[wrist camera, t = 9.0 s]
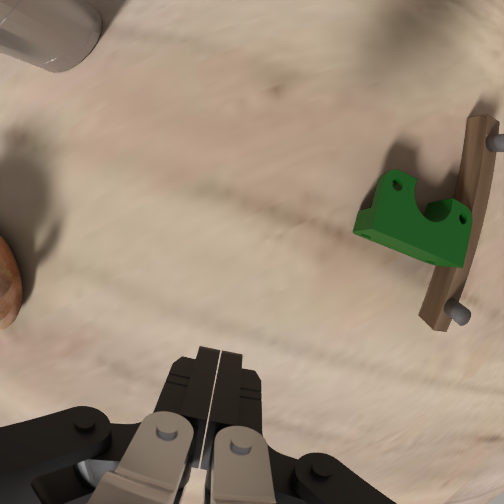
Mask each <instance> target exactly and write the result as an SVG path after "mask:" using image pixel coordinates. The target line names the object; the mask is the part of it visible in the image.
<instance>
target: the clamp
mask: <svg viewBox="0 0 504 504" xmlns="http://www.w3.org/2000/svg"><path fill="white" fill-rule="evenodd" d="M417 180H418V179H416V178H414V177H412V176H410V175H408V174H406V173H404V172H402V171H400V170H391V171H389V172H387V173H385V174H383V175H381V176H380V178H379V180H378V183H377V187H376V191H375V195H374V199H373V203H372V206H371V208H368V209H364V210H361V211H358V215H357V218H356V222H355V225H354V229H353V233H354V234H356V235H358V236H360V237H363V238H366V239H368V240H371V241H373V242H376V243H378V244H381V245H383V246H386V247H389V248H391V249H394V250H396V251H399V252H401V253H403V254H406V255H408V256H411V257H413V258H416V259H418V260H421V261H423V262H425V263H428V264H432V265H436V266H444V267H455V268H463V266H464V262H465V257H466V253H467V248H468V244H469V239H470V234H471V229H472V223H473V218H472V213H471V211H470V209H469V208H468V207H467V206H465V205H464V204H462V203H460V202H458V201H457V200H455V199H453V198H451V199H446V200H441V201H437V202H432V203H428V207H427V213H426V215H425V217H424V216H423V215H422V214H421V212H420V211H419V209H418V207H417V205H416V201H415V195H414V191H415V185H416V182H417ZM392 183H394V184H393V185H392Z"/></svg>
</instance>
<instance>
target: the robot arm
mask: <svg viewBox="0 0 504 504" xmlns="http://www.w3.org/2000/svg"><path fill="white" fill-rule="evenodd" d="M101 29H102V20H101V16H100V14H99V12H98V11H97V10H96V9H95V8H94V7H93V6H91V5H90V4H89V3H88V2H87V1H86V0H0V52H1V53H3V54H6V55H9V56H12V57H14V58H17V59H20V60H22V61H25V62H28V63H30V64H32V65H35V66H37V67H40V68H43V69H45V70H48V71H51V72H63V71H66V70H68V69H70V68H72V67H74V66H76V65H77V64H78V63H80V62H81V61H82V60H83V59H84V58H85V57H86V56H87V55H88V54H89V53H90V52H91V50H92V49H93V47H94V46H95V44H96V43H97V40H98V38H99V36H100V32H101ZM219 354H220V350H217V349H212V348H207V347H202V346H200V347H199V350H198V354H197V357H196V359H192V358H187V357H183V356H182V357H181V358H179V359H178V360H177V361H175V362H174V363H173V364H172V367H171V369H170V372H169V375H168V377H167V379H166V383H165V384H164V387H163V389H162V392H161V394H160V397H159V399H158V402H157V404H156V407H155V410H154V412H153V413H152V414H149V415H148V416H146V417H145V418H144V419H143V421H142V422H140V423H136V424H114V423H110V421H109V419H108V418H107V416H106V415H105V414H104V413H103V412H101V411H99V410H98V409H95V408H92V407H88V406H77V407H73V408H70V409H66V410H63V411H60V412H56V413H53V414H49V415H46V416H42V417H39V418H35V419H31V420H28V421H24V422H20V423H16V424H12V425H8V426H4V427H0V504H181V501H182V498H183V494H184V491H185V488H186V484H187V483H188V481H189V478H190V473H191V467H194V468H198V466H199V461H200V455H201V450H202V445H203V439H204V434H205V429H206V423H207V418H208V412H209V407H210V402H211V396H212V391H213V386H214V380H215V375H216V370H217V364H218V359H219ZM261 399H262V398H261V380H260V378H259V376H258V375H257V373H256V372H255V371H254V370H248V369H242V354H237V353H232V352H227V351H222V353H221V358H220V363H219V368H218V373H217V379H216V384H215V389H214V394H213V400H212V405H211V411H210V416H209V422H208V428H207V433H206V439H205V445H204V450H203V456H202V462H201V468H200V469H205V470H207V474H206V481H205V485H204V490H203V504H396V503H395V502H394V501H392V500H391V499H389V498H388V497H386V496H385V495H384V494H382V493H381V492H379V491H378V490H377V489H375V488H374V487H372V486H371V485H370V484H368V483H367V482H366V481H364V480H363V479H362V478H360V477H359V476H358V475H356V474H355V473H354V472H352V471H351V470H350V469H349V468H347V467H346V466H345V465H343V464H342V463H341V462H340V461H338V460H337V459H336V458H334V457H332V456H330V455H327V454H324V453H309V454H306V455H304V456H302V457H301V458H299V460H298V459H295V458H292V457H289V456H286V455H283V454H280V453H278V452H276V451H275V450H273V449H272V448H271V447H270V446H269V445H268V444H267V442H266V440H265V439H264V437H263V435H262V401H261Z"/></svg>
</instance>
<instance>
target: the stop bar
mask: <svg viewBox="0 0 504 504" xmlns="http://www.w3.org/2000/svg"><path fill="white" fill-rule="evenodd" d="M498 133H499V121H497V120H496V119H494V118H493V117H491V116H489V115H488V114H487V115H481V116H475V117H470V118H467V124H466V132H465V140H464V147H463V153H462V159H461V165H460V171H459V176H458V181H457V186H456V191H455V196H454V199H455V200H457V201H458V202H460V203H462V204H464V205H465V206H467V207H468V208H469V209H470V211H471V213H472V218H473V223H472V229H471V234H470V239H469V244H468V248H467V253H466V257H465V262H464V266H463V268H455V267H444V266H436V267H435V270H434V273H433V276H432V279H431V282H430V285H429V288H428V291H427V293H426V296H425V299H424V302H423V304H422V307H421V310H420V312H419V316H420V317H421V318H422V319H423V320H424V321H425V322H426V323H427V324H428V325H429V326H430V327H431V328H432V329H433V330H435V331H443V332H447V329H448V327H449V325H450V322H451V320H452V319H453V320H454V321H455V322H456V323H458V324H459V325H460V326H463V325H465V324H467V323H468V321H469V320H470V318H471V312H470V310H469V309H467V308H466V307H465V306H463V305H462V304H461V303H459V299H460V297H461V294H462V291H463V288H464V286H465V283H466V280H467V277H468V274H469V271H470V268H471V264H472V261H473V258H474V255H475V251H476V248H477V244H478V240H479V237H480V233H481V229H482V225H483V221H484V217H485V213H486V208H487V204H488V199H489V194H490V189H491V183H492V178H493V172H494V165H495V158H496V152H504V134H498Z"/></svg>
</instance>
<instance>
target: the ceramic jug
mask: <svg viewBox="0 0 504 504" xmlns="http://www.w3.org/2000/svg"><path fill="white" fill-rule="evenodd" d="M21 303H22V281H21V276H20V272H19V268H18V265H17V262H16V260H15V257H14V255H13V253H12V251H11V249H10V247H9V246H8V244H7V243H6V241H5V240H4V239H3V238H2V237H1V236H0V329H4V328H6V327H8V326H10V325H11V324H12V323H13V322H14V320H15V319H16V317H17V315H18V313H19V311H20V308H21Z"/></svg>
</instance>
